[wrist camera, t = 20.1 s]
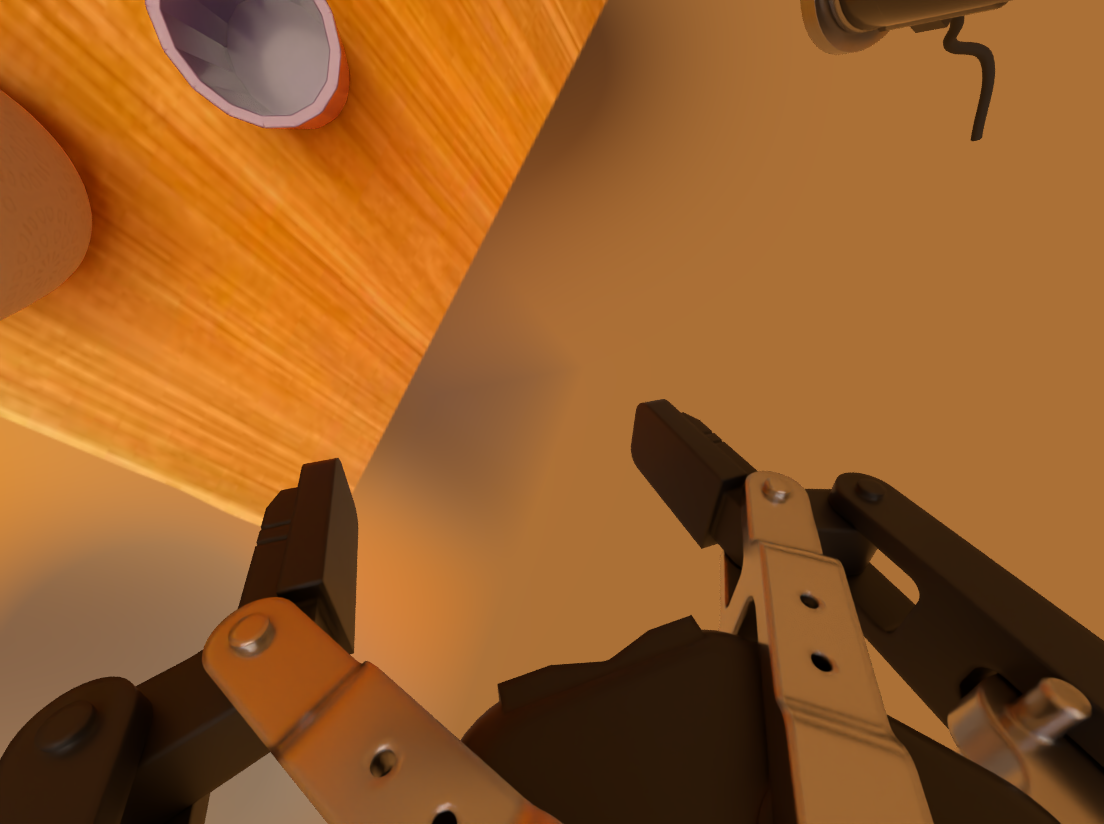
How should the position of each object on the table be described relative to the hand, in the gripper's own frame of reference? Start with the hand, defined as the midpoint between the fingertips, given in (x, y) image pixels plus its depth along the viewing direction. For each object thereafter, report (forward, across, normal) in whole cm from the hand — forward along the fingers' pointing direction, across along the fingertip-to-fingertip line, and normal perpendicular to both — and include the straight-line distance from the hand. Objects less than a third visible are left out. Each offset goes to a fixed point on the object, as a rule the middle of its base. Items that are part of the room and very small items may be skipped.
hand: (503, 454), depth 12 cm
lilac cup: (+26, +6, -11) cm, 29 cm away
